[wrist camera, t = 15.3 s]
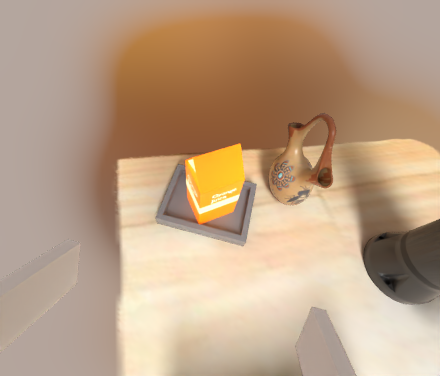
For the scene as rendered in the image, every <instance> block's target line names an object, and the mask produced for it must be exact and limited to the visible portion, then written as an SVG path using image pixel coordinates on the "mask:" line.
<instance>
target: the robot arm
mask: <svg viewBox="0 0 440 376" xmlns="http://www.w3.org/2000/svg"><path fill="white" fill-rule="evenodd" d="M80 245H81V243H80V242H76V241H73V240H69V239H67V240H66V241H64V242H62V243H61V244H59V245H57V246H56V247H54V248H52V249H51V250H49V251H48V252H46V253H44V254H42V255H41V256H39V257H38V258H36V259H34V260H33V261H31V262H29V263H27V264H26V265H24V266H22V267H21V268H19V269H17V270H16V271H14V272H12V273H11V274H9V275H7V276H6V277H4V278H2V279H1V280H0V353H1V352H2V351H3V350H4V349H5V348H6V347H8V346H9V345H10V344H11V343H12V342H13V341H14V340H15V339H16V338H18V337H19V336H20V335H21V334H22V333H23V332H24V331H25V330H26V329H28V328H29V327H30V326H31V325H32V324H33V323H34V322H35V321H36V320H37V319H38V318H40V317H41V316H42V315H43V314H44V313H45V312H46V311H47V310H49V309H50V308H51V307H52V306H53V305H54V304H55V303H56V302H57V301H58V300H60V299H61V298H62V297H63V296H64V295H65V294H66V293H67V292H68V291H70V290H71V289H72V288H73V287H74V286H75V285H76V284H77V277H78V266H79V256H80ZM364 262H365V266H366V269H367V272H368V274H369V276H370V277H371V279H372V281H373V282H374V283H375V285H376V286H377V287H378V288H379V289H380V290H381V291H382V292H383V293H384V294H386V295H387V296H388V297H390V298H391V299H393V300H395V301H397V302H400V303H403V304H409V305H413V304H424V303H427V302H430V301H431V300H433V299H435V298H436V297H438V296H440V219H438V220H436V221H433V222H431V223H428V224H426V225H423V226H421V227H418V228H416V229H414V230H411V231H409V232H387V233H382V234H380V235H377V236H375V237H373V238H372V239H370V240H369V241H368V243H367V244H366V246H365V249H364ZM296 350H297V354H298V358H299V362H300V366H301V370H302V374H303V376H356V374H355V372H354V369H353V367H352V365H351V363H350V361H349V359H348V357H347V354H346V352H345V350H344V348H343V346H342V344H341V342H340V340H339V337H338V335H337V333H336V331H335V329H334V327H333V325H332V322H331V320H330V318H329V316H328V314H327V312H326V311H325V310H322V309H318V308H315V307H312V308H311V310H310V313H309V315H308V317H307V320H306V322H305V325H304V327H303V329H302V332H301V334H300V337H299V339H298V341H297V344H296Z"/></svg>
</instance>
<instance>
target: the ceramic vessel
mask: <svg viewBox="0 0 440 376" xmlns="http://www.w3.org/2000/svg"><path fill="white" fill-rule="evenodd" d="M321 120H324V121H325V122H326V123H327V125H328V129H329V135H328V139H327V142H326V145H325V147H324V150H323V152H322V154H321V157H320V159H319V161H318V163H317V164H316V166H315V167H314V168H312V166H311V164H310V162H309V161H308V159H307V158H306V157H305V156H304V155H303V150H302V145H303V141H304V138H305V136H306V135H307V133H308V132H309V130H310V129H311V128H312V127H313V126H314V125H315V124H317V123H318V122H319V121H321ZM288 130H289V140H288V145H287V147H286V150H285V151H284V153H283V154H281V155H280V156H278V157H277V158H276V159H275V161H274V162H273V164H272V166H271V168H270V171H269V186H270V189H271V192H272V194H273V195H274V197H275V198H276V199H277V200H278V201H280V202H281V203H283V204H286V205H297V204H300V203H301V202H303V201H304V200H305V199H306V198H307V197H308V196H309V195H310V193H311V191H312V188H313V185H317V186H319V187H322V188H328V187H330V186H331V185H332V183H333V176H332V164H331V154H332V148H333V143H334V140H335V136H336V127H335V124H334V120H333V119H332V117H330V116H329V115H327V114H325V113H323V114H319V115H317V116H316V117H315V118H313V119H312V120H311V121H309V122H308V123H307V124H306V125H303V124H301V123H290V124H289V125H288Z"/></svg>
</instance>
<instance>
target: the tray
mask: <svg viewBox="0 0 440 376" xmlns="http://www.w3.org/2000/svg"><path fill="white" fill-rule="evenodd" d="M256 185H257V184H254V183H250V182H246V181H244V183H243V186H242V189H241V191H240V195H239V198H238V200H237V203H236V205H235V208H234V211H233V212H231V213H228V214H226V215H223V216H220V217H218V218H215V219H213V220H210V221H207V222H205V223H202V224H199V223H198V221H197V219H196V216H195V214H194V212H193V209H192V207H191V205H190V202H189V200H188V198H187V185H186V166H184V165H180V164H178V166H177V168H176V171H175V173H174V175H173V178H172V180H171V182H170V185H169V187H168V190H167V192H166V194H165V197H164V199H163V201H162V204H161V206H160V208H159V211H158V213H157V216H156V221H157V223H159V224H162V225H166V226H170V227H174V228H177V229H181V230H185V231H188V232H192V233H196V234H200V235H203V236H207V237H211V238H214V239H218V240H222V241H226V242H229V243H233V244H237V245H241V246H244V244H245V243H246V238H247V233H248V228H249V222H250V217H251V212H252V206H253V201H254V196H255V190H256Z"/></svg>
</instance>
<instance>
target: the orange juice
mask: <svg viewBox="0 0 440 376" xmlns="http://www.w3.org/2000/svg"><path fill="white" fill-rule="evenodd" d="M185 164H186V185H187V198H188V200H189V202H190V205H191V207H192V209H193V212H194V214H195V216H196V219H197V221H198V223H199V224H202V223H205V222H207V221H210V220H213V219H215V218H218V217H220V216H223V215H226V214H228V213H231V212H233V211H234V208H235V205H236V203H237V200H238V198H239V195H240V191H241V189H242V186H243V183H244V180H245V177H244V169H243V160H242V152H241V144H237V145H234V146H230V147H227V148H224V149H220V150H217V151H213V152H210V153H206V154H203V155H200V156H196V157H193V159H192V158H190V159H188V160H186V161H185Z"/></svg>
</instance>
